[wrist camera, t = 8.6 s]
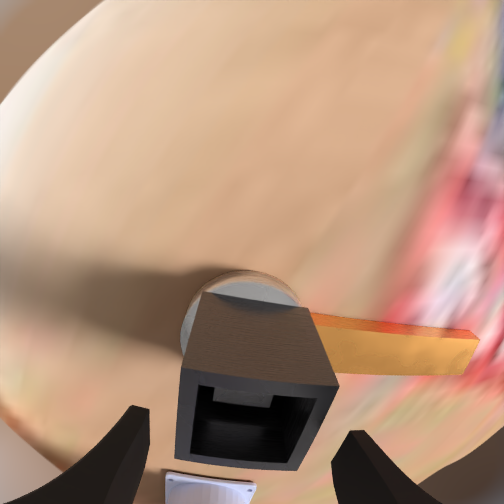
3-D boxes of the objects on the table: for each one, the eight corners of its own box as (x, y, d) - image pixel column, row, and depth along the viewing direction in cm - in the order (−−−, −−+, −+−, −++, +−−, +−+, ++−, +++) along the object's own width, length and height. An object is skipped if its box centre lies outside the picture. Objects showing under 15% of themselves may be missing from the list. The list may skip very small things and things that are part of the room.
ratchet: (479, 307, 18) (522, 340, 13) (442, 383, 20) (473, 423, 15) (194, 259, 17) (174, 301, 12) (180, 362, 18) (165, 421, 13)
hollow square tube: (283, 387, 17) (297, 470, 11) (191, 374, 16) (174, 458, 11) (307, 308, 15) (339, 386, 10) (202, 290, 15) (181, 367, 9)
